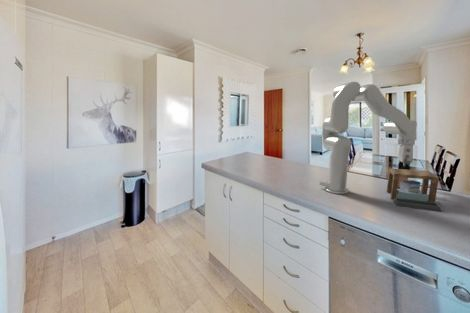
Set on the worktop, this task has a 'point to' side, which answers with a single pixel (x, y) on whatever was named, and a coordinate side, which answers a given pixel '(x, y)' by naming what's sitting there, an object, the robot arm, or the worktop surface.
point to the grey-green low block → (410, 195)
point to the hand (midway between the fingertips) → (403, 171)
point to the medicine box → (410, 186)
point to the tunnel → (418, 174)
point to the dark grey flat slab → (417, 204)
